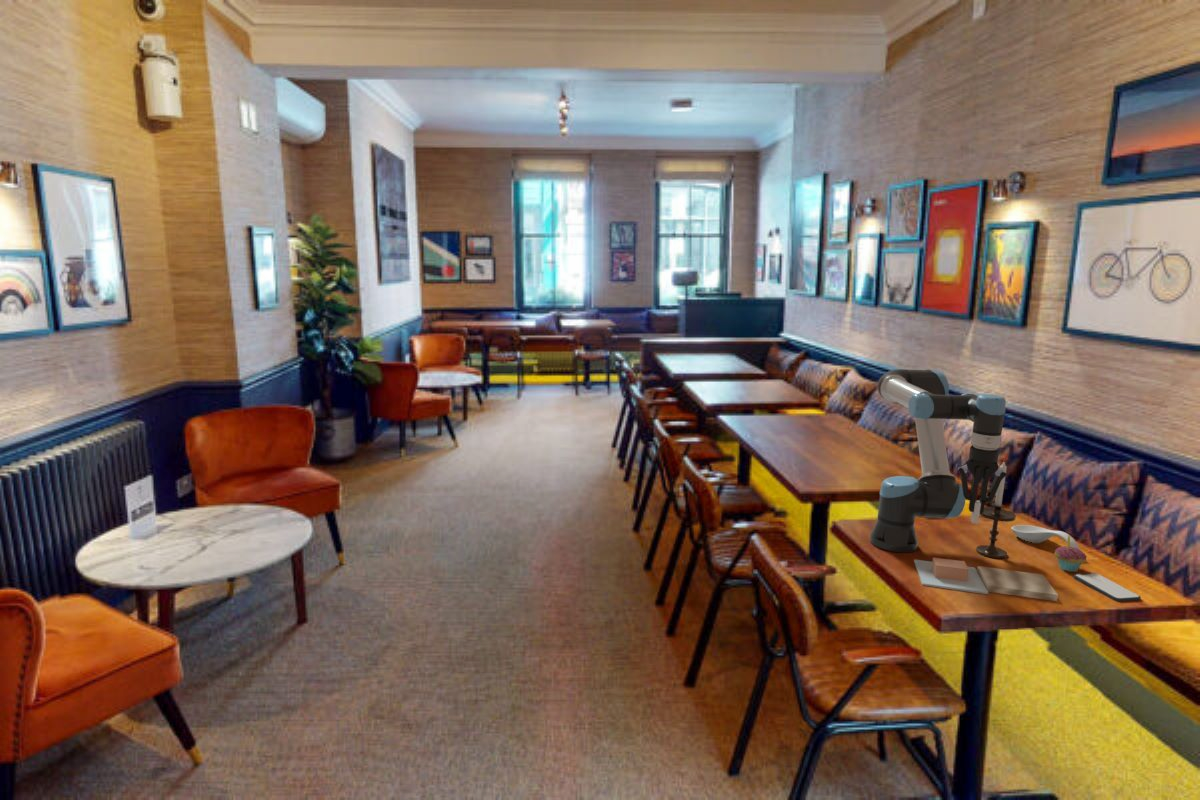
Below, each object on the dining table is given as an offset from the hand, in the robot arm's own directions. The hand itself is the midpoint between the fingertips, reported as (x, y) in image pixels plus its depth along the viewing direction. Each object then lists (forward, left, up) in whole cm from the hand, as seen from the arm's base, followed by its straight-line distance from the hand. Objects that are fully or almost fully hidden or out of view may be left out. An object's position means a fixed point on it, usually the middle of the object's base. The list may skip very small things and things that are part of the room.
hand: (974, 521), depth 207 cm
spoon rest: (+32, +38, -19) cm, 53 cm away
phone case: (+39, +7, -19) cm, 44 cm away
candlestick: (+12, +25, -19) cm, 33 cm away
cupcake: (+33, +20, -19) cm, 43 cm away
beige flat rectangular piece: (+13, 0, -19) cm, 23 cm away
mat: (-5, 0, -19) cm, 19 cm away
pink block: (-5, -1, -18) cm, 19 cm away
